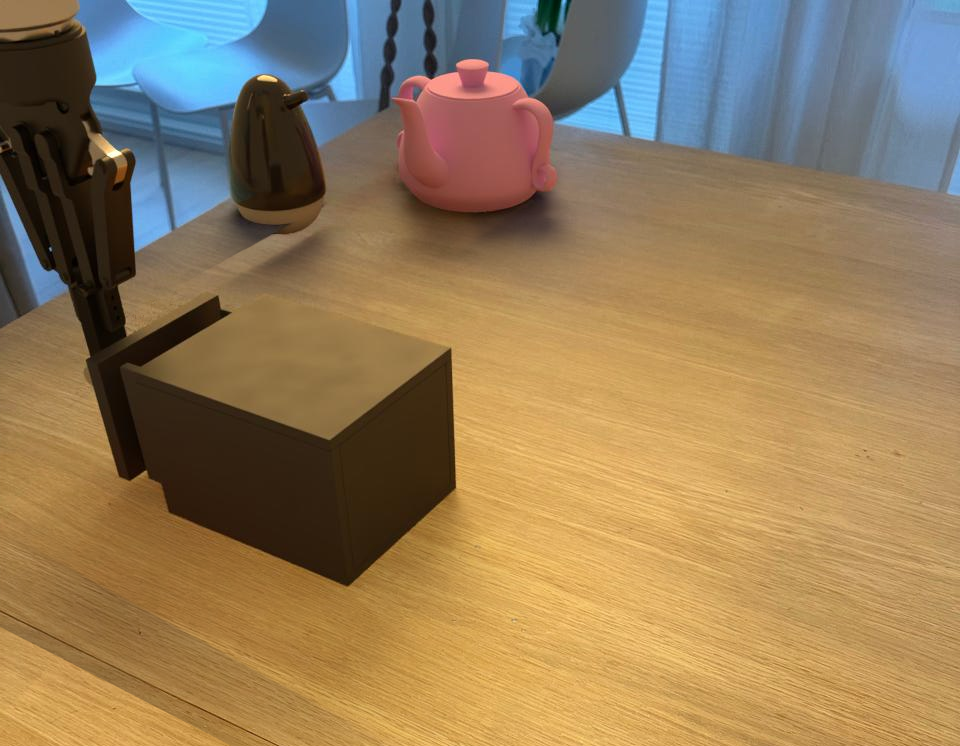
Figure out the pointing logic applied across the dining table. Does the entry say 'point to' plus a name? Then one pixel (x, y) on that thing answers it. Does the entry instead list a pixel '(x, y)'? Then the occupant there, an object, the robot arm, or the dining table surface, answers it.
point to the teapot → (473, 140)
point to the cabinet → (302, 433)
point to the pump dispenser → (274, 156)
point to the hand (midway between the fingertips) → (113, 363)
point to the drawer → (119, 389)
